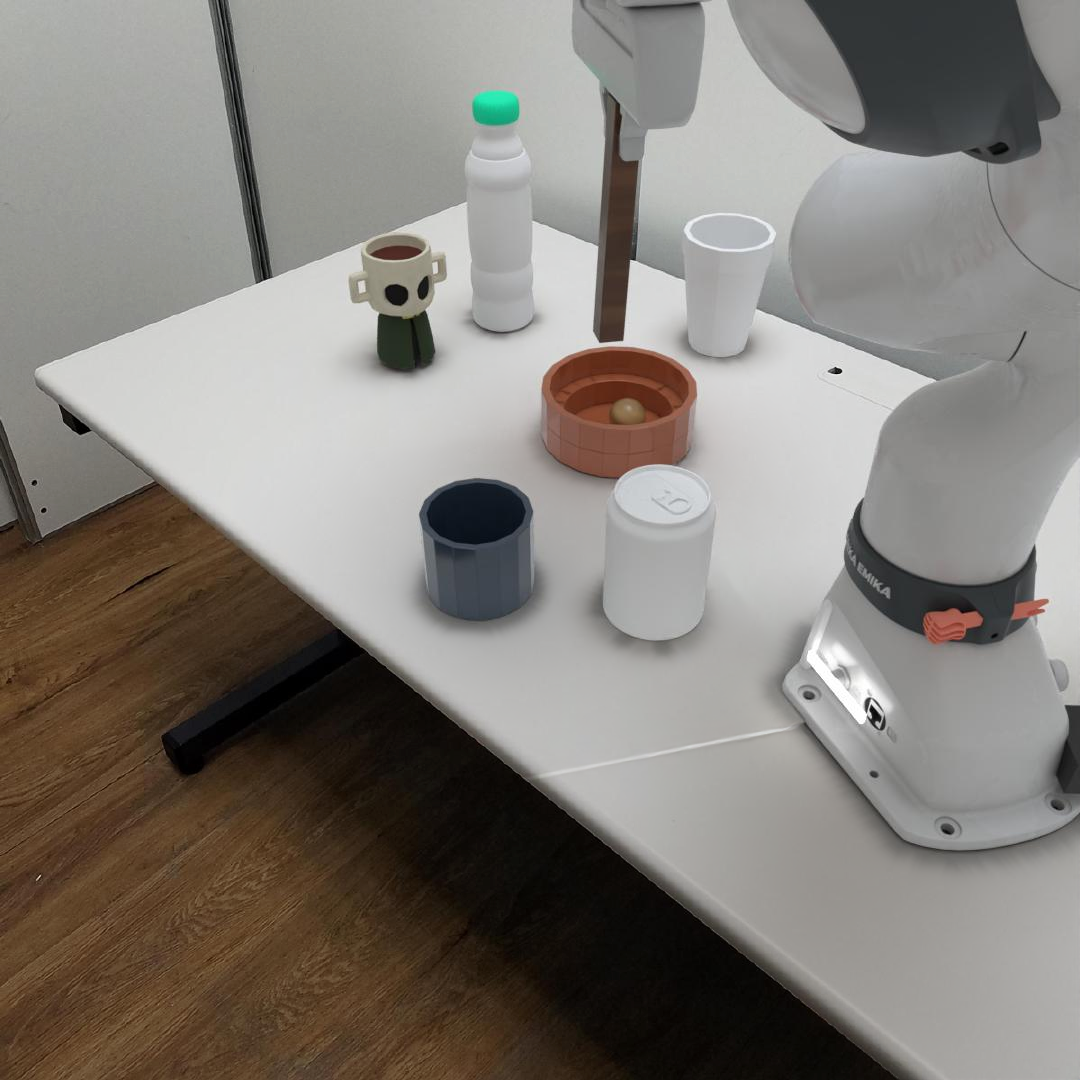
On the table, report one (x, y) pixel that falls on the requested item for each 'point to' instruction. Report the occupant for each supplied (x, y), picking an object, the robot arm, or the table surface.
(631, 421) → the bead
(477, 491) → the pot
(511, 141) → the water bottle
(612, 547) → the beverage can
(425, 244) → the character mug
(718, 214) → the foam cup
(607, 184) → the stick
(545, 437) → the bowl
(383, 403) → the table surface
